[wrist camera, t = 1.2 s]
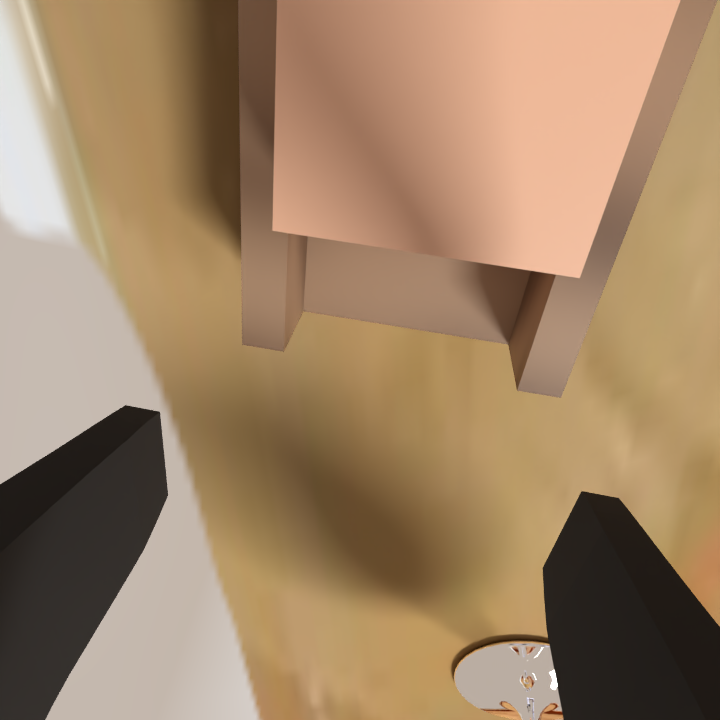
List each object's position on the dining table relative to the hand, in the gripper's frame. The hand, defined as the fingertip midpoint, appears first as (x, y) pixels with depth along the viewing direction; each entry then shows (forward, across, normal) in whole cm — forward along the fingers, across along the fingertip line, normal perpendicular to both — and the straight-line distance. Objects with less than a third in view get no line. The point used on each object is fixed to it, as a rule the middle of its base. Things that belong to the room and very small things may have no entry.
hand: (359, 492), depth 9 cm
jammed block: (+8, 0, -6) cm, 10 cm away
